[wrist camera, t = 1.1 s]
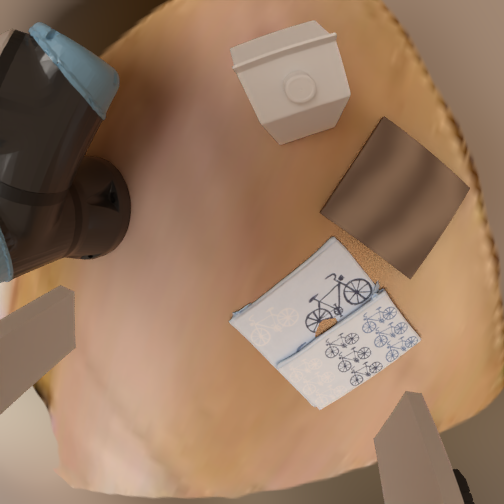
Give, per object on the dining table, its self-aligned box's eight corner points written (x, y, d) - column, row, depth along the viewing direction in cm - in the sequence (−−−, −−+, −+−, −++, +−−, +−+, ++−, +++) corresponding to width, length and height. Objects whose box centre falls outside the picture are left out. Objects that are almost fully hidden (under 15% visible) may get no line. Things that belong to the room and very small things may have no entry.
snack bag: (315, 405, 44) (315, 414, 42) (226, 314, 43) (222, 321, 41) (420, 336, 39) (425, 343, 37) (338, 225, 38) (340, 228, 36)
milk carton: (259, 93, 35) (215, 27, 17) (313, 75, 34) (314, -6, 15) (279, 145, 36) (251, 115, 18) (335, 127, 35) (359, 80, 16)
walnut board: (319, 212, 37) (320, 213, 36) (381, 118, 33) (384, 116, 32) (407, 275, 37) (410, 279, 36) (464, 187, 33) (470, 188, 32)
